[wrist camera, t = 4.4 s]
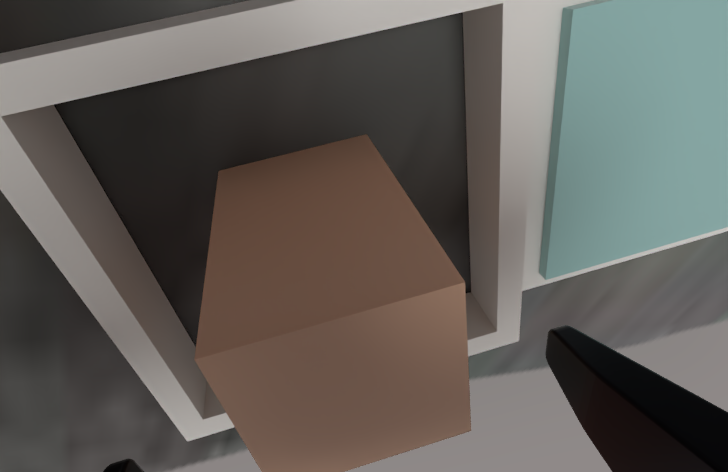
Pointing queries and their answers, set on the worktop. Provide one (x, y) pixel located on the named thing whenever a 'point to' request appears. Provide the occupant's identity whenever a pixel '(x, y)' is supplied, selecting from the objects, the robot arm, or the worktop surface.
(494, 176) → the pale grey square frame
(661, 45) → the lid
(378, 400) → the block
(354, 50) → the worktop surface
